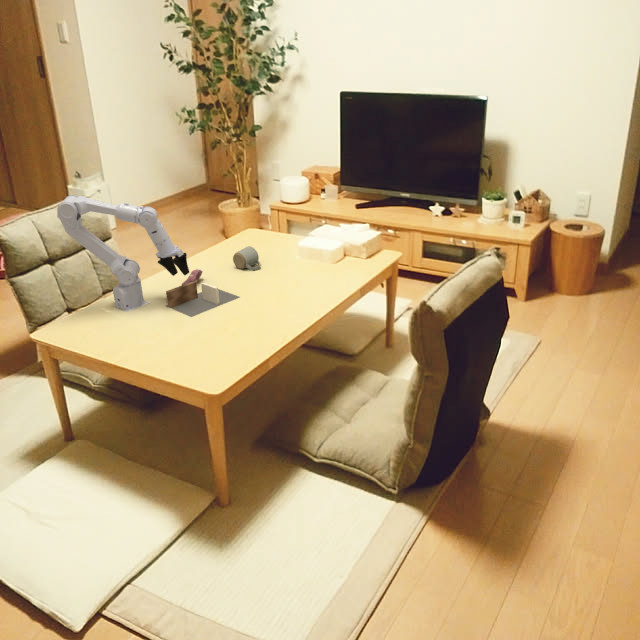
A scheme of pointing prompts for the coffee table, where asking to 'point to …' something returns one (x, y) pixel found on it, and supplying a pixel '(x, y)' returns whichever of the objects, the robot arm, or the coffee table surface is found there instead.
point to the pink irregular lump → (193, 276)
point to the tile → (210, 293)
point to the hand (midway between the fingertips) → (181, 274)
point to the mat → (203, 304)
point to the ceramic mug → (246, 258)
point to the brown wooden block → (181, 294)
